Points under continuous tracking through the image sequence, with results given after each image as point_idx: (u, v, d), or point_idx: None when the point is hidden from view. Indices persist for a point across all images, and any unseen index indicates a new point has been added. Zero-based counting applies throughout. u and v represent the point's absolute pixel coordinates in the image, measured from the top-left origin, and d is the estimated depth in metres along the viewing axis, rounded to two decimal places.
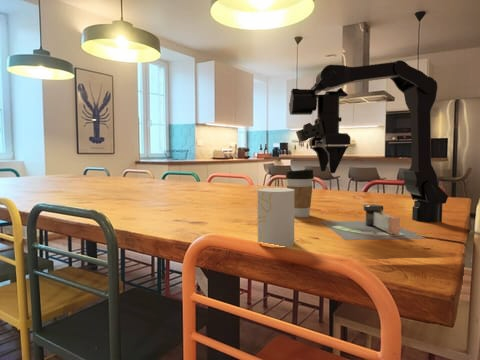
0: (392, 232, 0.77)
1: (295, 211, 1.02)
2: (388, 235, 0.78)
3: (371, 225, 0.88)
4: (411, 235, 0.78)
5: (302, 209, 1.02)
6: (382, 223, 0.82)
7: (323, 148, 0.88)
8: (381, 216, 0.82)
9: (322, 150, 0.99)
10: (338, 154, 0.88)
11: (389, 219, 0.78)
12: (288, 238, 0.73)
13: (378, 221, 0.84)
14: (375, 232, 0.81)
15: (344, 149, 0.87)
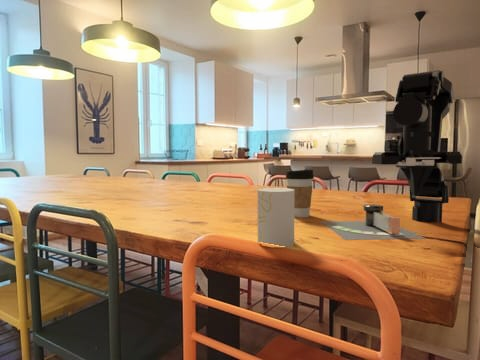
0: (392, 232, 0.77)
1: (295, 211, 1.02)
2: (388, 235, 0.78)
3: (371, 225, 0.88)
4: (411, 235, 0.78)
5: (302, 209, 1.02)
6: (382, 223, 0.82)
7: None
8: (381, 216, 0.82)
9: None
10: None
11: (389, 219, 0.78)
12: (288, 238, 0.73)
13: (378, 221, 0.84)
14: (375, 232, 0.81)
15: (411, 169, 0.78)
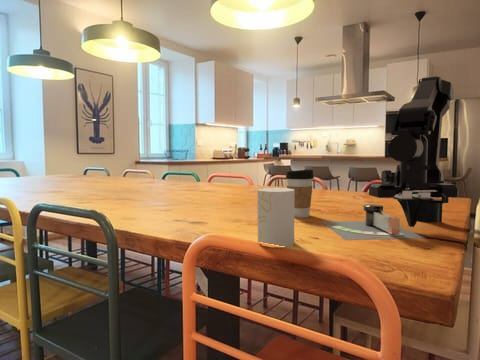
0: (392, 232, 0.77)
1: (295, 211, 1.02)
2: (388, 235, 0.78)
3: (371, 225, 0.88)
4: (411, 235, 0.78)
5: (302, 209, 1.02)
6: (382, 223, 0.82)
7: None
8: (381, 216, 0.82)
9: None
10: None
11: (389, 219, 0.78)
12: (288, 238, 0.73)
13: (378, 221, 0.84)
14: (375, 232, 0.81)
15: None
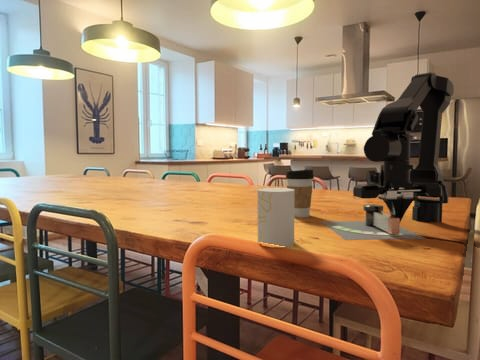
0: (392, 232, 0.77)
1: (295, 211, 1.02)
2: (388, 235, 0.78)
3: (371, 225, 0.88)
4: (411, 235, 0.78)
5: (302, 209, 1.02)
6: (382, 223, 0.82)
7: None
8: (381, 216, 0.82)
9: None
10: None
11: (389, 219, 0.78)
12: (288, 238, 0.73)
13: (378, 221, 0.84)
14: (375, 232, 0.81)
15: None
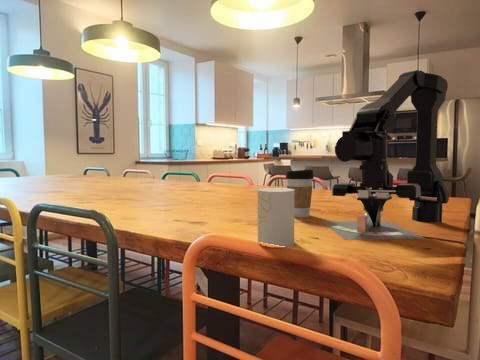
0: (358, 230, 0.80)
1: (295, 211, 1.02)
2: (388, 235, 0.78)
3: None
4: (411, 235, 0.78)
5: (302, 209, 1.02)
6: None
7: (375, 198, 0.83)
8: None
9: None
10: None
11: None
12: (288, 238, 0.73)
13: None
14: (375, 232, 0.81)
15: None
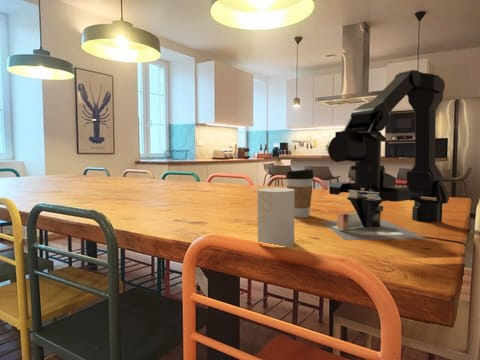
0: (338, 226, 0.84)
1: (295, 211, 1.02)
2: (388, 235, 0.78)
3: None
4: (411, 235, 0.78)
5: (302, 209, 1.02)
6: None
7: None
8: None
9: None
10: None
11: None
12: (288, 238, 0.73)
13: None
14: (375, 232, 0.81)
15: None
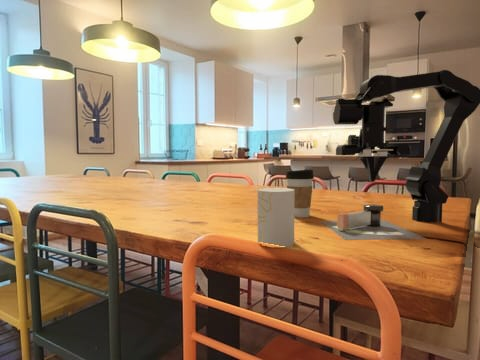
0: (338, 226, 0.84)
1: (295, 211, 1.02)
2: (388, 235, 0.78)
3: None
4: (411, 235, 0.78)
5: (302, 209, 1.02)
6: None
7: None
8: None
9: (374, 159, 0.94)
10: None
11: None
12: (288, 238, 0.73)
13: None
14: (375, 232, 0.81)
15: None
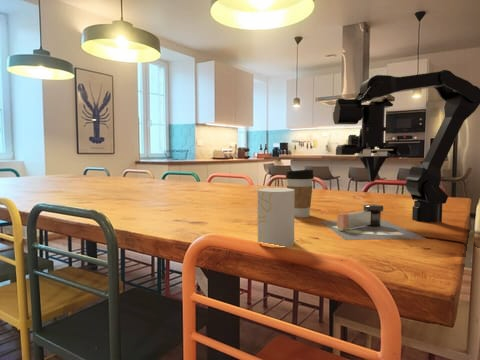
0: (338, 226, 0.84)
1: (295, 211, 1.02)
2: (388, 235, 0.78)
3: None
4: (411, 235, 0.78)
5: (302, 209, 1.02)
6: None
7: None
8: None
9: (374, 159, 0.94)
10: None
11: None
12: (288, 238, 0.73)
13: None
14: (375, 232, 0.81)
15: None
